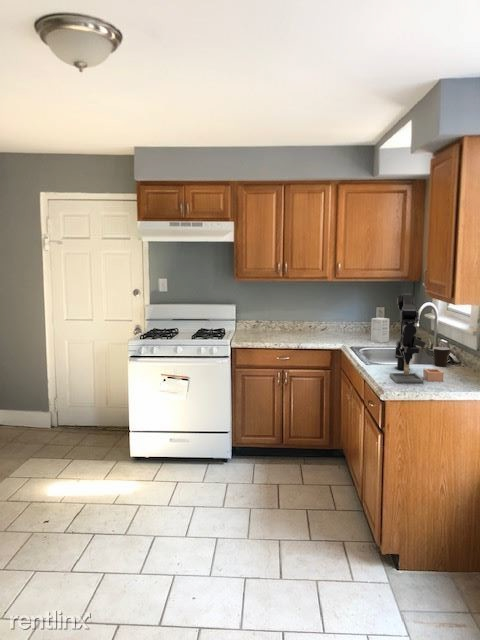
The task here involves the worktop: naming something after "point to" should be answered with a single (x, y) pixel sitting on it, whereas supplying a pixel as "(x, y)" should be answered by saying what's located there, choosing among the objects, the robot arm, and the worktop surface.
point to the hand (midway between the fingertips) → (406, 363)
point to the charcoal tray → (406, 378)
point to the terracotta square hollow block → (433, 374)
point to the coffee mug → (441, 356)
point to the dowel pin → (406, 369)
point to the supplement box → (380, 330)
